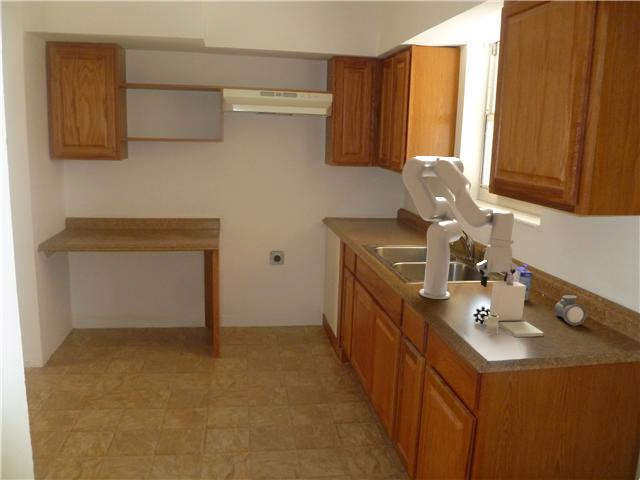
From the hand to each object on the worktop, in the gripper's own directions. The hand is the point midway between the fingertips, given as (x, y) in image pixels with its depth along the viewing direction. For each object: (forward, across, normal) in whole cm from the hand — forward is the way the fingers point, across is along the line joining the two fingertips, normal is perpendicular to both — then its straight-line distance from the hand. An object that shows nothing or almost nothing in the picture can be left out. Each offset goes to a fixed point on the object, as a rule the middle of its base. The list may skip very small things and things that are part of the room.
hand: (495, 285), depth 217 cm
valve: (+11, +12, +19) cm, 25 cm away
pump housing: (+10, 0, +10) cm, 15 cm away
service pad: (+10, 0, +21) cm, 23 cm away
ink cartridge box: (+11, -22, -17) cm, 30 cm away
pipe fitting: (+11, -25, +12) cm, 30 cm away
